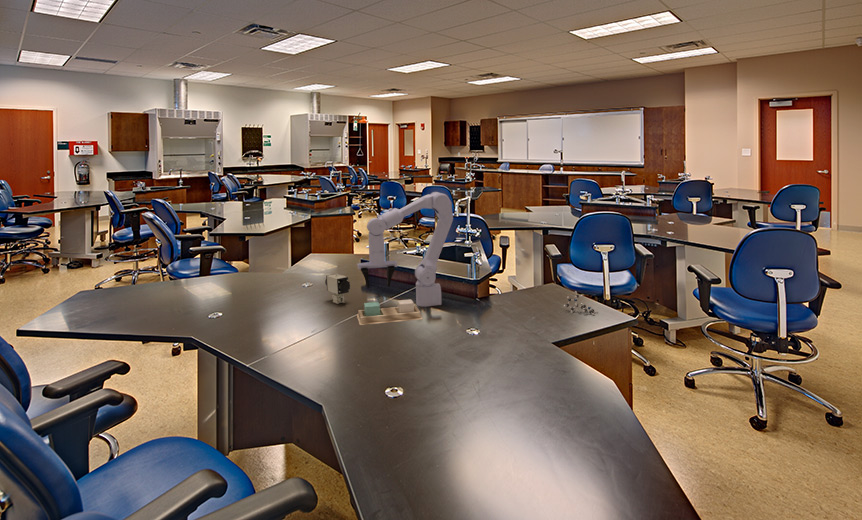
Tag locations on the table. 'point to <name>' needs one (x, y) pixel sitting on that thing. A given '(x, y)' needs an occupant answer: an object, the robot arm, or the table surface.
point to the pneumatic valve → (337, 286)
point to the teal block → (371, 309)
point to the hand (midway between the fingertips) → (378, 286)
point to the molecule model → (579, 306)
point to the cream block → (405, 306)
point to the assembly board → (388, 316)
